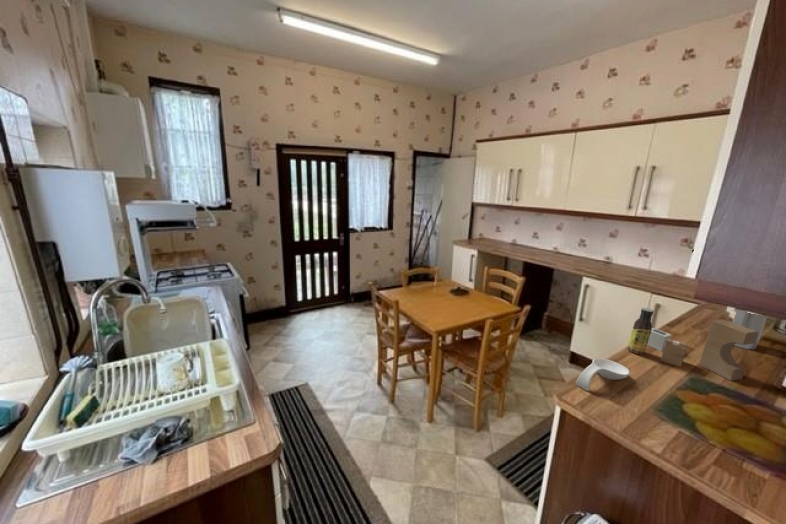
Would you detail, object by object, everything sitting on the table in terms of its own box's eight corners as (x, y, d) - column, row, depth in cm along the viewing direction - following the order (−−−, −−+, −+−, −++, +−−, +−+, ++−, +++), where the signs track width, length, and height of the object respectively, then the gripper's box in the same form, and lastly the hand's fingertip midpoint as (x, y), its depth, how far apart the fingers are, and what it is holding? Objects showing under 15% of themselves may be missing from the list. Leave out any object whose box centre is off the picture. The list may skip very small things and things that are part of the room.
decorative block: (742, 379, 118) (759, 332, 112) (730, 381, 117) (747, 333, 111) (708, 363, 128) (723, 318, 123) (697, 364, 127) (711, 319, 122)
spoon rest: (601, 363, 128) (604, 347, 126) (633, 378, 118) (638, 362, 116) (566, 380, 116) (569, 363, 114) (599, 399, 106) (603, 381, 104)
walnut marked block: (661, 355, 134) (666, 337, 131) (680, 360, 130) (685, 342, 128) (661, 361, 129) (666, 343, 127) (680, 366, 125) (686, 348, 123)
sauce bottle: (631, 354, 134) (642, 311, 128) (623, 346, 140) (633, 305, 134) (648, 356, 133) (660, 313, 127) (640, 348, 139) (650, 307, 133)
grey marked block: (649, 341, 145) (653, 327, 143) (667, 348, 139) (671, 334, 137) (643, 343, 143) (647, 329, 141) (661, 351, 137) (665, 336, 135)
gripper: (743, 234, 124) (730, 275, 128) (698, 229, 134) (688, 268, 139) (739, 236, 119) (726, 279, 124) (693, 231, 130) (683, 270, 135)
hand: (706, 273), depth 131 cm, fingers closed
